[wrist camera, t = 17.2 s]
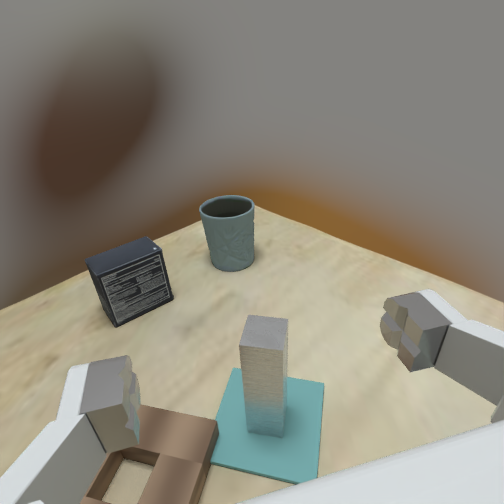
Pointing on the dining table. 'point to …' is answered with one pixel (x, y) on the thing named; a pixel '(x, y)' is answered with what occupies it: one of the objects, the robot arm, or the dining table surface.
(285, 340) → the metal bar
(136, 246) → the small box
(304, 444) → the mat
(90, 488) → the socket block
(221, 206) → the grey-green cup
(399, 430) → the dining table surface
